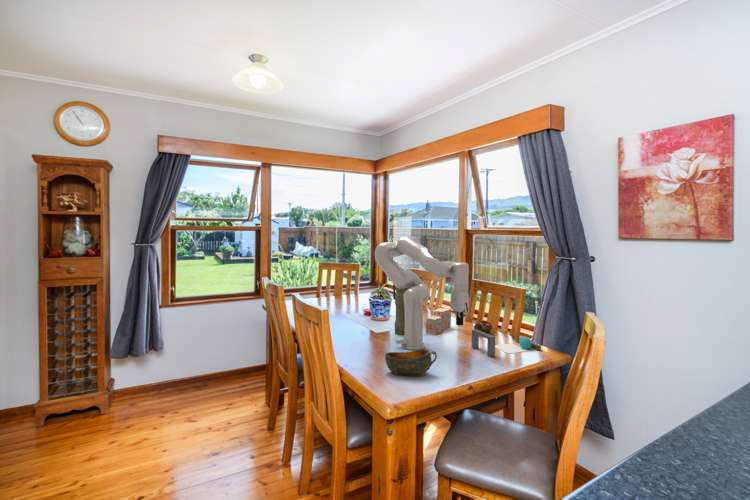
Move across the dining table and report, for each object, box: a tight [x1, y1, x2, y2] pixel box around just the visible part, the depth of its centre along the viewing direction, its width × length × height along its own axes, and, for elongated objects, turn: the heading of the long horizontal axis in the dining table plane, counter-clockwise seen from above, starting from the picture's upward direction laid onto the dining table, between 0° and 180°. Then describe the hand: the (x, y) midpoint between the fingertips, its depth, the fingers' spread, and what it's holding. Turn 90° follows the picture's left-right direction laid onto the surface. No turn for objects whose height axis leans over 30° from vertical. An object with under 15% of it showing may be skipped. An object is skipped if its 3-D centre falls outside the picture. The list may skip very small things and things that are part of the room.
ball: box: [518, 336, 532, 350], centre depth 193 cm, size 6×6×6 cm
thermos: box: [392, 283, 407, 336], centre depth 220 cm, size 9×12×35 cm
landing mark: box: [495, 343, 529, 355], centre depth 193 cm, size 13×13×1 cm
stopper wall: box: [515, 336, 542, 352], centre depth 197 cm, size 2×16×2 cm, turn 21°
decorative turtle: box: [473, 320, 493, 334], centre depth 220 cm, size 10×15×8 cm, turn 139°
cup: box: [384, 348, 438, 378], centre depth 158 cm, size 13×20×10 cm, turn 56°
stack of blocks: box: [425, 307, 452, 336], centre depth 228 cm, size 21×6×12 cm, turn 143°
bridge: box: [471, 328, 496, 358], centre depth 187 cm, size 3×15×10 cm, turn 20°
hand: (459, 324), depth 181 cm, fingers closed
